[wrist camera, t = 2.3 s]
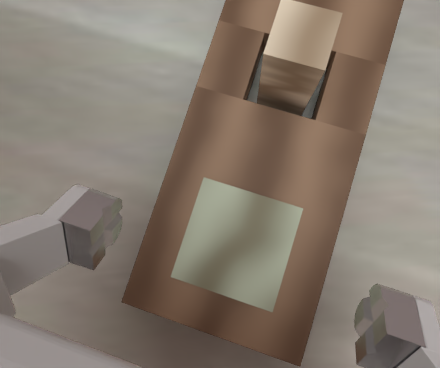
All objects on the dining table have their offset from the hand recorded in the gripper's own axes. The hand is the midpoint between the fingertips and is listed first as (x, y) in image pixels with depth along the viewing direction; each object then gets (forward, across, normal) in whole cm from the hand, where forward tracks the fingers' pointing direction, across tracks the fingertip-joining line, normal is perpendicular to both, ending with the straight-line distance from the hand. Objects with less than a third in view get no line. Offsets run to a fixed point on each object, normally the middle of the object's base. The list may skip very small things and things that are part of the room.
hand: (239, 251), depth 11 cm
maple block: (+23, 0, +3) cm, 23 cm away
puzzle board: (+18, 0, +8) cm, 20 cm away
